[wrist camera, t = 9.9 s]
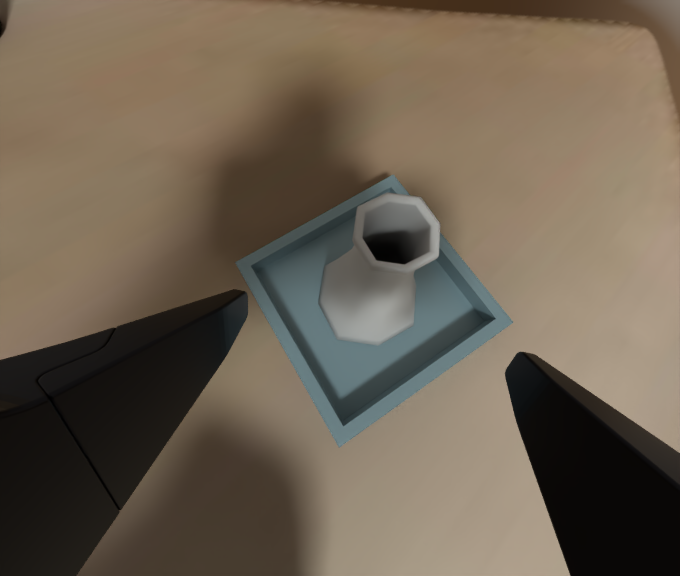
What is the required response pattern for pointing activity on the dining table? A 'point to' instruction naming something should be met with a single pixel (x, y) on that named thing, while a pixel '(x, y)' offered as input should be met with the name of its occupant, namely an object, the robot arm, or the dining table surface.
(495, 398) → the dining table surface
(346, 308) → the flask
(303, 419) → the dining table surface
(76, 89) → the dining table surface
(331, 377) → the tray
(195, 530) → the dining table surface
